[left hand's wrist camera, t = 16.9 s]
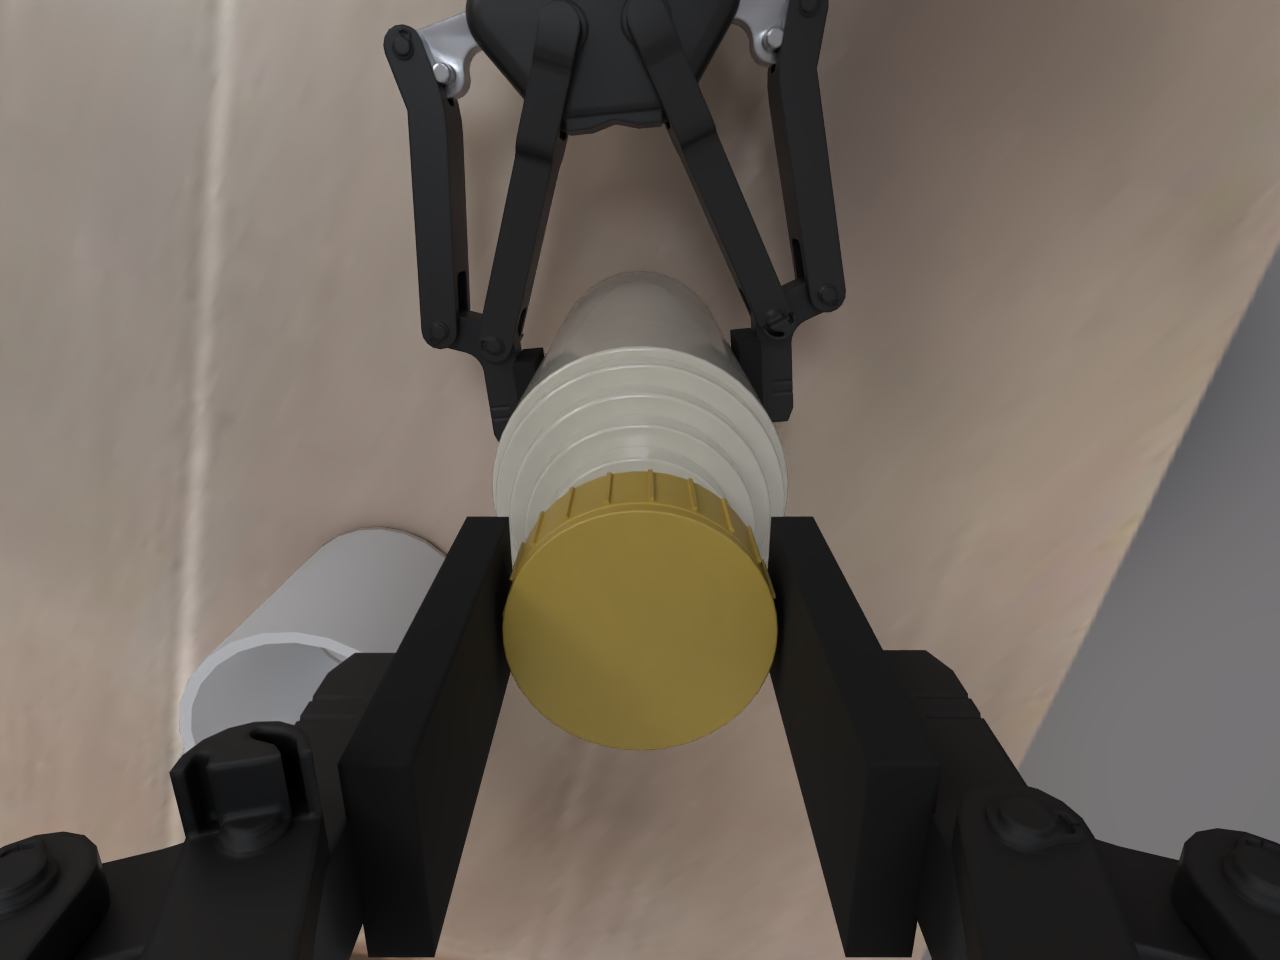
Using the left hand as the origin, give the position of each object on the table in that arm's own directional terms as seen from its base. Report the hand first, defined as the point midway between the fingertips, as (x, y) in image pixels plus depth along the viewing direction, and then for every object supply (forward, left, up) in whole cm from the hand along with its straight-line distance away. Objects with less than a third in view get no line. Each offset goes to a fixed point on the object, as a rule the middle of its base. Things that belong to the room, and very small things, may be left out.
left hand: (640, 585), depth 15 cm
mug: (-18, +4, -21) cm, 28 cm away
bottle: (0, 0, -21) cm, 21 cm away
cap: (0, 0, +1) cm, 1 cm away
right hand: (-4, -3, -15) cm, 16 cm away
